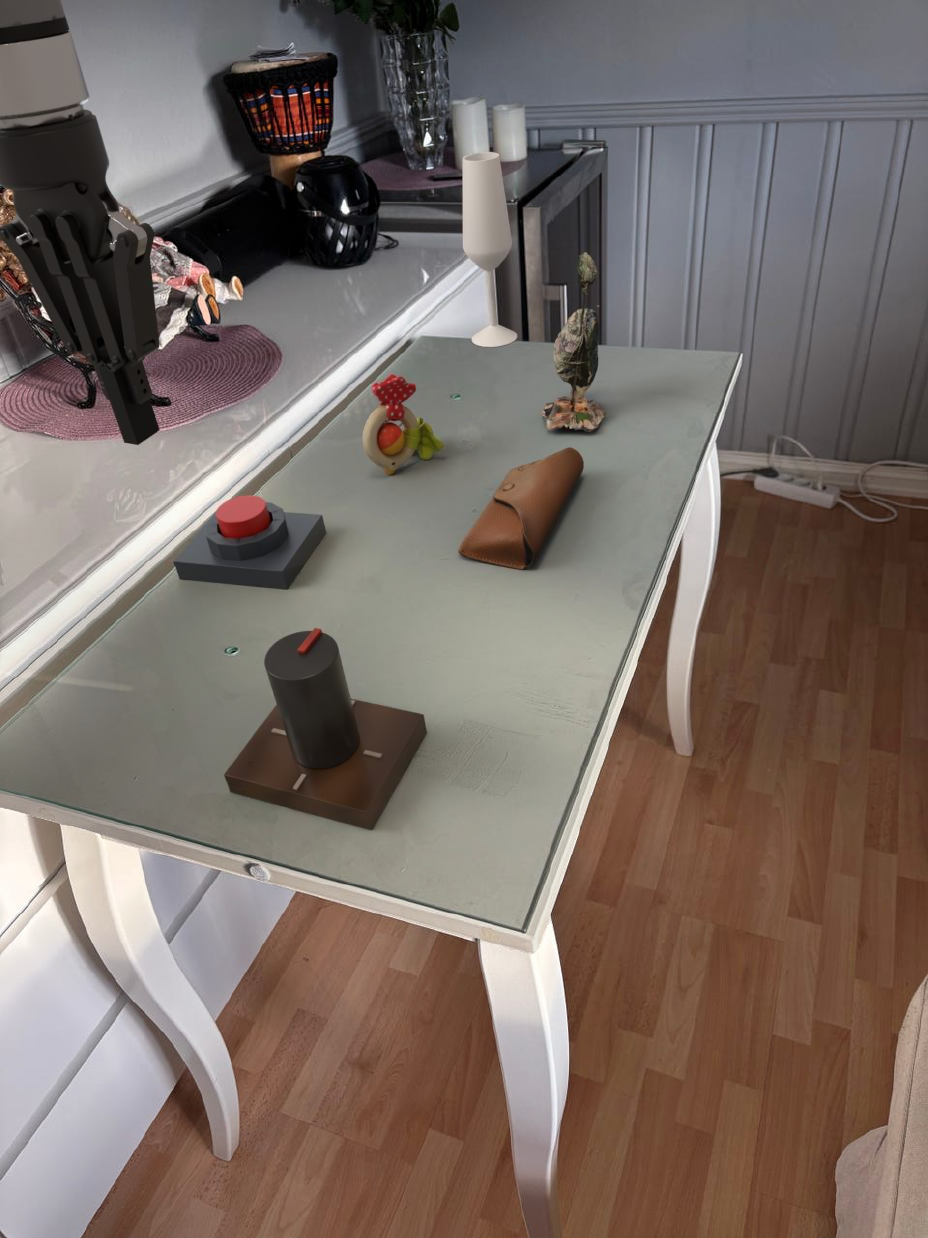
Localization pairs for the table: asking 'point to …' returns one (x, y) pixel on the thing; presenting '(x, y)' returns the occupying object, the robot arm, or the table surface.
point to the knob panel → (336, 790)
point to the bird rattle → (396, 427)
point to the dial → (313, 698)
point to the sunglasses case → (523, 511)
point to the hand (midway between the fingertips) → (142, 436)
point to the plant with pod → (577, 362)
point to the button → (243, 516)
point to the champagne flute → (486, 233)
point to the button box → (253, 551)
